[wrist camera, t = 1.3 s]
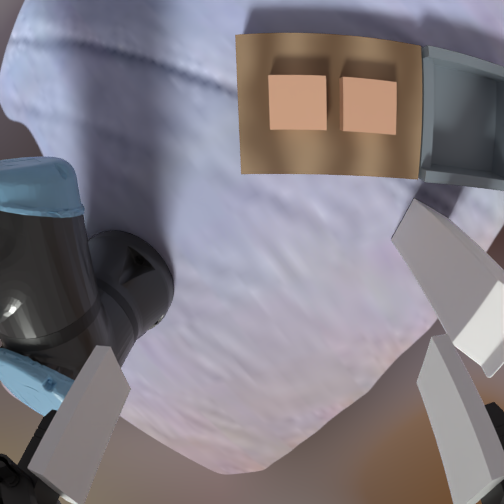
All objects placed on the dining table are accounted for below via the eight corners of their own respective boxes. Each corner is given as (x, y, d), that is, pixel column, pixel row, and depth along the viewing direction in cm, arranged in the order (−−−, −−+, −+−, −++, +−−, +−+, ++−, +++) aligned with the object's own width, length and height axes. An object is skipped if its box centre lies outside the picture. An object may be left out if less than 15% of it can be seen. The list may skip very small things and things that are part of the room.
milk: (390, 239, 37) (463, 374, 17) (413, 196, 34) (519, 304, 14) (426, 258, 37) (505, 385, 17) (450, 218, 34) (554, 327, 15)
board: (246, 166, 35) (241, 174, 31) (241, 42, 29) (235, 34, 25) (405, 171, 33) (417, 179, 29) (407, 50, 27) (420, 45, 23)
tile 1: (339, 129, 28) (343, 131, 26) (339, 78, 26) (342, 76, 24) (389, 132, 28) (395, 135, 26) (390, 83, 25) (396, 82, 24)
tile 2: (271, 128, 29) (269, 129, 27) (269, 77, 27) (268, 75, 25) (324, 128, 28) (326, 130, 27) (323, 77, 26) (326, 75, 24)
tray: (408, 171, 33) (425, 182, 28) (410, 51, 27) (428, 45, 22) (494, 181, 31) (515, 192, 27) (500, 74, 25) (523, 74, 21)
